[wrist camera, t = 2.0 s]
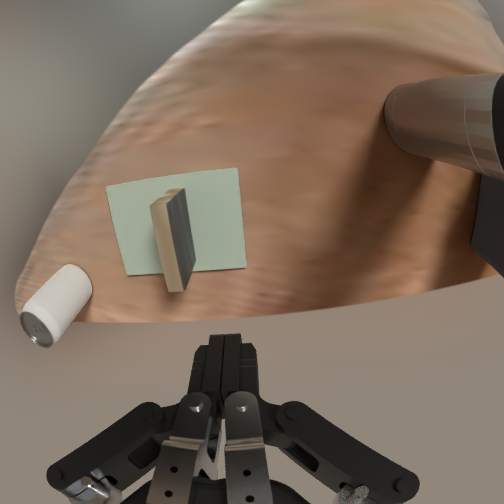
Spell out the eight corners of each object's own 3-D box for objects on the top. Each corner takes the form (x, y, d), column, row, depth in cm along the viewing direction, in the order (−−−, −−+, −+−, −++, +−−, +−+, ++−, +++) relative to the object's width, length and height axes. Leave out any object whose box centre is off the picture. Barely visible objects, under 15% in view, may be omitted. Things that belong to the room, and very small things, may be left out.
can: (54, 267, 34) (10, 311, 23) (81, 258, 33) (34, 305, 22) (72, 302, 37) (36, 351, 26) (100, 296, 36) (63, 349, 25)
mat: (237, 167, 29) (237, 168, 28) (246, 265, 34) (246, 267, 34) (107, 186, 29) (105, 187, 29) (128, 273, 34) (127, 275, 34)
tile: (184, 187, 29) (167, 203, 23) (196, 260, 33) (185, 291, 27) (169, 189, 29) (149, 205, 23) (182, 261, 33) (168, 292, 27)
